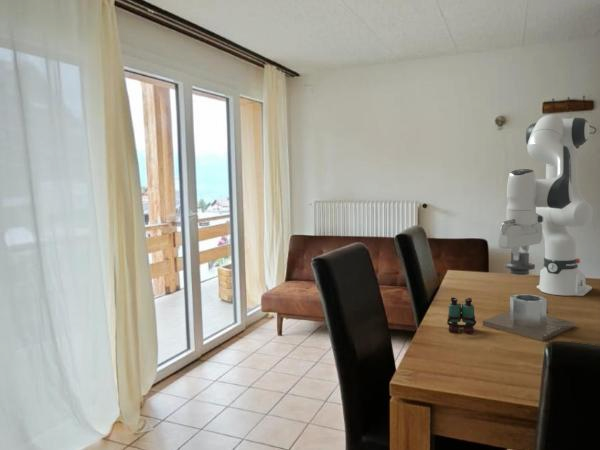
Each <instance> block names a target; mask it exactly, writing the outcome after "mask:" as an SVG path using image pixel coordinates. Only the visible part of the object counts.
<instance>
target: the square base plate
mask: <svg viewBox="0 0 600 450" xmlns="http://www.w3.org/2000/svg"><path fill="white" fill-rule="evenodd" d="M547 303H548V300H547V298H545V297H544V296H542V295H537V294H531V293H516V294H513V295H510V296H509V311H506V312H503V313H501V314H498V315H496V316H492V317H490V318H487V319H484V320H482V326H485V327H489V328H492V329H496V330H500V331H503V332H507V333H510V334H515V335H518V336H522V337H526V338H529V339H533V340H537V341H541V342H543V341H546V340H549V339H551V338H553V337H555V336H558V335H559V334H561V333H563V332H566V331H567V330H570V329H572V328H575V323H576V322H575V321H571V320H567V319H562V318H557V317H553V316H548V315H547V312H548V311H547V308H548V307H547V306H548V305H547Z"/></svg>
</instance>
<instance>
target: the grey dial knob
mask: <svg viewBox="0 0 600 450" xmlns="http://www.w3.org/2000/svg"><path fill="white" fill-rule="evenodd" d="M519 254H520V255H521V260H518V261H517V260H514V259H513V253H512V251H511V252H510V261H507V262H504V267H505V268H506V269H510V272H509V273H510V274H512V275H517V276H521V275H522V276H527V275H529V274H530V271H531V270H535V268H536V266H535V264H534V263H532V262H529V261H530V253H529V252H527V253H524V252H521V251H519Z"/></svg>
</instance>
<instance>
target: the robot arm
mask: <svg viewBox="0 0 600 450" xmlns="http://www.w3.org/2000/svg"><path fill="white" fill-rule="evenodd" d="M590 131H591V129H590V125H589V122H588V121H587V119H585V118H583V117H574V118H571V117H570V118H569V117H568V118H561V117H560V116H559V115H558V116H557V115H554V114H547V115H544V116H542V117H541V118H539V119H538V121H537V122H534V123H532V124H530V125H528V127H527V128H526V131H525V136H524V137H525V142H526V145H527V146H526V147H527V148H526V151H527V153H528V155H529V156H530V157H531V158H532V159H533V160H534V161H535V162H538V163H541V164H545V178H537V179H536V173H535V170H533V169H529V168H521V169H514V170H512V171H510V172H509V174H508V179H507V184H506V201H507V205H506V209H505V211H506V212H505V213H506V214H505V216H506V217H505V220H504V221H503V223H501V226H500V228H499V232H498V240H497V241H498V243H497V246H498V248H500V249H503V250H511V252H512V253H513V259H514V260H517V261H518V260H521V255H520V254H519V252H524V253H529V250H530V246H533V245H539V244H541V242H542V239H544V258H543V268H542V269H540V274H539V275H540V276H539V284H538V285H536V289H538V290H540V291H541V292H542V293H545V294H548V295H555V296H568V297H569V296H578V297H579V296H581V297H583V296H585V295H586V294H588V293H589V292H590V291H592V289H593V287H592V286H590V285H588V284H586V275H585V274H584V273H583V272H582V271H581V270H580V269H579V268H578V267H579V266H578V265H579V264H580V263H581V259H580V258H576V256H577V255H576V253H577V252H576V249H577V247H576V246H577V243H576V240H575V238H574V237H573V236H572V235H571V234H570V232H569V231H568V229H567V227H568V228H569V227H572V228H573V227H574V228H575V227H583V226H586V225H588V224H590V222H591V221H592V220H593V217H594V210H593V206H592V205H591V204H590V203H589V202H587V200H585V198H584V196H583V195H582V193H581V191H580V190H581V189H580V188H579V182H578V153H577V149H579V148H580V146H583V145H584V144H585V143H586V142H587V141H588V138H589V137H590V133H591V132H590Z"/></svg>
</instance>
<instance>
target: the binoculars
mask: <svg viewBox="0 0 600 450" xmlns="http://www.w3.org/2000/svg"><path fill="white" fill-rule="evenodd" d="M472 299H473V298H471V297H468V298H465V300H464V302H465V303H464V302H463V303H460V302H459V303H458V301H459V300H458V298H457V297H451V298H450V302H451V303H449V304H448V315H447V321H446V322H447V323H446V324H447V326H448V332H450V333H453V334H458V333H460V329H463V330H462V331H463V333H464V334H466V335H471V334H473V333H474V332H475V327H474V326H476V324H477V321H476V315H475V305H474V304H472V301H473V300H472ZM461 320H462V322H463V323H465V324H459V323H460V322H461Z"/></svg>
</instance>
